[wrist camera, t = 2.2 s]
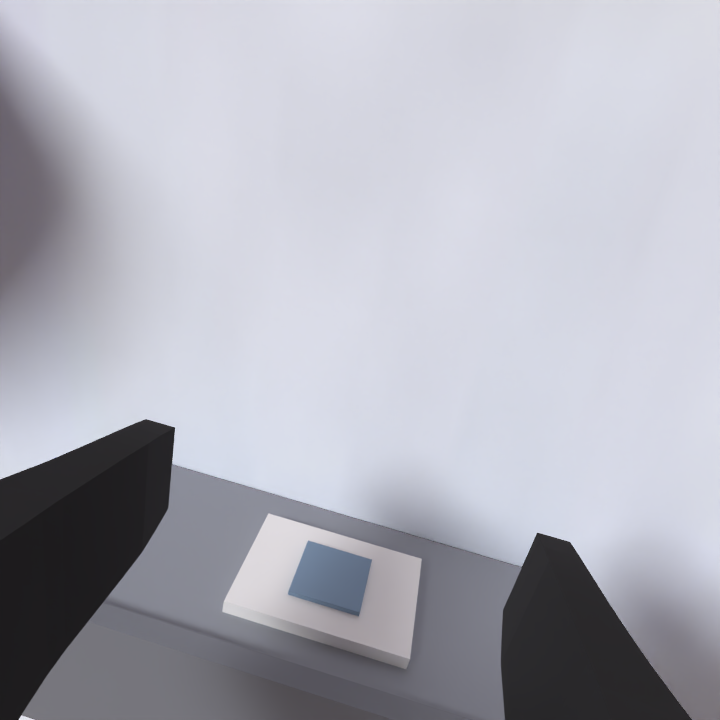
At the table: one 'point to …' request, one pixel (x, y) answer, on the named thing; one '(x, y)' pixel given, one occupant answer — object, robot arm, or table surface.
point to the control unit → (285, 621)
